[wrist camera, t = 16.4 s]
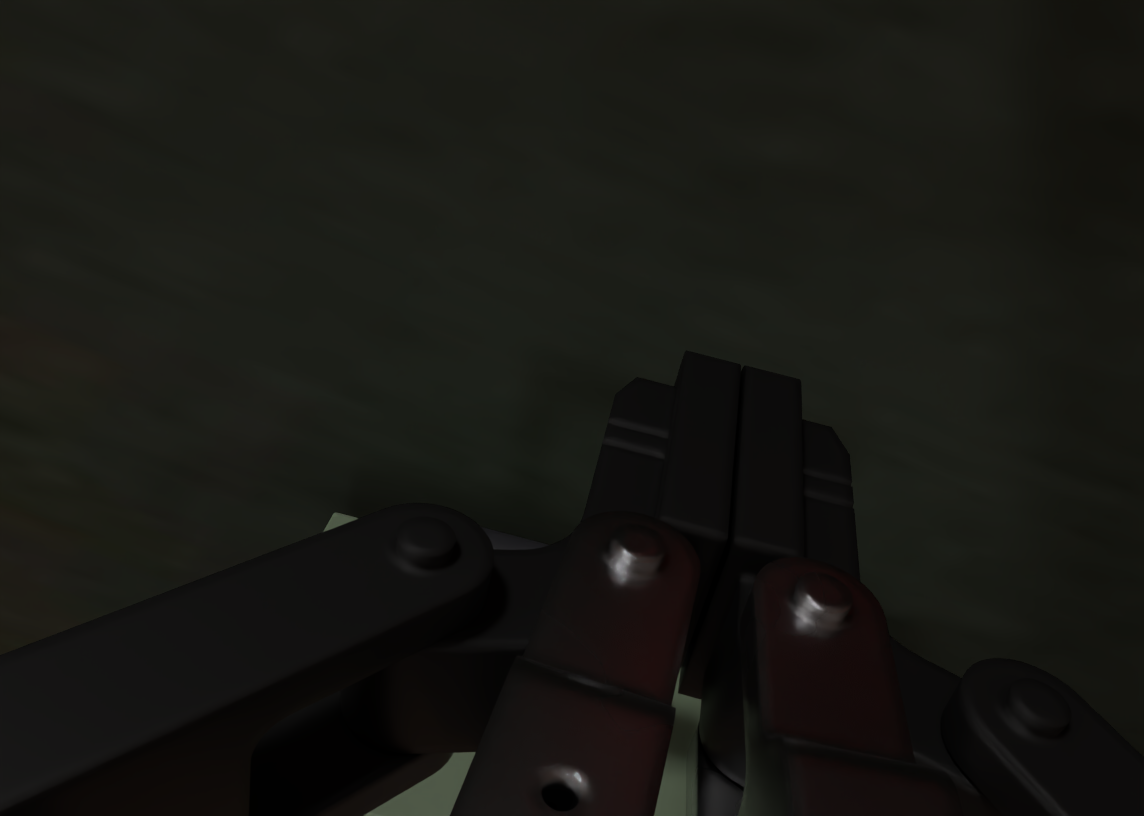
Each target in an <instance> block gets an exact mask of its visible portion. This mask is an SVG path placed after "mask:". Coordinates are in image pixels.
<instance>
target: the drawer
mask: <svg viewBox="0 0 1144 816" xmlns="http://www.w3.org/2000/svg"><path fill="white" fill-rule="evenodd" d="M356 519H359V518H356V517H352V516H348V515H344V514H340V513H334V514H333V515H332V517H331V519H330V521H329V522H328V524H327V526H326V528H325V529H324V531H323V532H325V531H327V530H330V529H332V528H335V527H338V526H340V525H343V524H346V523H348V522H351V521H353V520H356ZM481 528H482V529H483V530H484V531H485V532H486V534H487V535H488V537H489V539H490V540H491V543H492V546H493V549H502V550H527V549H535V548H541V547H545V546H549V545H548V544H544V543H540V542H537V541H533V540H529V539H525V538H521V537H518V536H514V535H510V534H506V533H502V532H499V531H495V530H491V529H487V528H484V527H481ZM680 670H681V669H680ZM679 679H680V671H679V674H678V678H677V682H676V687H675V691H674V696H673V700H672V705H671V706H672V707H675V708H676V714H675V720H674V726H673V731H672V735H671V740H670V745H669V749H668V754H667V759H666V763H665V768H664V772H663V777H662V782H661V786H660V791H659V795H658V800H657V805H656V809H655V814H654V816H686V759H687V751H688V748H689V746H690V743H691V740H692V738H693V735H694V733H695V730H696V728H697V725H698V723H699V720H700V710H701V699H697V698H693V697H690V696H686V695H682V694H678V687H679ZM475 753H476V752H462V753H453V755H452V756H451V758H450V760H449V761H448V762H447V763H446V764H445V765H444V766H443V767H442V768H441V769H440V770H439V771H437V772H436V773H434V774H433V775H431V776H430V777H428V778H426V779H424V780H423V781H421V782H419V783H418V784H416V785H414V786H413V787H411V788H409V789H408V790H406V791H404V792H402V793H401V794H399V795H397V796H396V797H394V798H392V799H391V800H389V801H387V802H386V803H384V804H382V805H380V806H379V807H377V808H375V809H374V810H372V811H370V812H369V813H367V814H365V815H363V816H450V814H451V811H452V809H453V806H454V804H455V801H456V799H457V797H458V794H459V792H460V789H461V787H462V784H463V782H464V779H465V777H466V775H467V772H468V770H469V767H470V765H471V762H472V760H473V757H474V755H475Z"/></svg>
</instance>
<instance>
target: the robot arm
mask: <svg viewBox="0 0 1144 816" xmlns="http://www.w3.org/2000/svg"><path fill="white" fill-rule="evenodd" d="M851 483H852V477H851V465H850V455H849V453H848V451H847V450H846V448H845V447H844V445H843V444H842V442H841V441H840V439H839V438H838V436H837V435H836V433H835V432H834V430H833V429H832V427H829V426H825V425H821V424H817V423H813V422H810V421H806V420H802V395H801V380H800V379H796V378H792V377H788V376H784V375H780V374H777V373H773V372H769V371H765V370H761V369H757V368H753V367H749V366H744V367H743V369H742V371H741V365H740V364H737V363H733V362H729V361H725V360H721V359H717V358H714V357H710V356H706V355H702V354H698V353H694V352H690V351H685V354H684V356H683V359H682V362H681V365H680V369H679V372H678V376H677V379H676V382H675V386H674V387H673V386H669V385H666V384H662V383H658V382H654V381H650V380H646V379H642V378H638V377H637V378H635V379H634V380H633V381H632V382H630V383H629V384H628V385H627V386H625V387H624V388H623V389H622V390H620V391H619V392H618V393H617V394H615V398H614V402H613V406H612V409H611V413H610V417H609V421H608V425H607V428H606V432H605V436H604V440H603V443H602V447H601V451H600V455H599V459H598V462H597V466H596V470H595V474H594V477H593V481H592V485H591V489H590V493H589V496H588V500H587V504H586V508H585V512H584V515H583V518H582V520H581V523H580V524H579V525H578V526H577V527H576V528H575V529H574V531H573V532H572V533H571V534H570V535H569V536H568V537H566V538H564V539H563V540H561V541H559V542H557V543H554V544H552V545H549V546H545V547H541V548H535V549H527V550H502V549H493V546H492V543H491V540H490V539H489V537H488V535H487V534H486V532H485V531H484V530H483V529H482V528H481V527H480V526H479V525H478V524H477V523H476V522H475V521H473V520H472V519H471V518H469V517H467V516H466V515H464V514H462V513H460V512H458V511H455V510H453V509H450V508H447V507H443V506H439V505H434V504H426V503H406V504H400V505H395V506H391V507H388V508H385V509H382V510H380V511H377V512H374V513H372V514H369V515H367V516H364V517H361V518H359V519H356V520H353V521H351V522H348V523H346V524H343V525H340V526H338V527H335V528H332V529H330V530H327V531H325V532H322V533H319V534H317V535H314V536H312V537H309V538H306V539H304V540H301V541H298V542H296V543H293V544H291V545H288V546H285V547H283V548H280V549H277V550H275V551H272V552H270V553H267V554H264V555H262V556H259V557H257V558H254V559H251V560H249V561H246V562H243V563H241V564H238V565H236V566H233V567H230V568H228V569H225V570H222V571H220V572H217V573H215V574H212V575H209V576H207V577H204V578H201V579H199V580H196V581H194V582H191V583H188V584H186V585H183V586H181V587H178V588H175V589H173V590H170V591H167V592H165V593H162V594H160V595H157V596H154V597H152V598H149V599H146V600H144V601H141V602H139V603H136V604H133V605H131V606H128V607H126V608H123V609H120V610H118V611H115V612H112V613H110V614H107V615H105V616H102V617H99V618H97V619H94V620H91V621H89V622H86V623H84V624H81V625H78V626H76V627H73V628H71V629H68V630H65V631H63V632H60V633H57V634H55V635H52V636H50V637H47V638H44V639H42V640H39V641H36V642H34V643H31V644H29V645H26V646H23V647H21V648H18V649H15V650H13V651H10V652H8V653H5V654H2V655H0V816H363V815H365V814H367V813H369V812H370V811H372V810H374V809H375V808H377V807H379V806H380V805H382V804H384V803H386V802H387V801H389V800H391V799H392V798H394V797H396V796H397V795H399V794H401V793H402V792H404V791H406V790H408V789H409V788H411V787H413V786H414V785H416V784H418V783H419V782H421V781H423V780H424V779H426V778H428V777H430V776H431V775H433V774H434V773H436V772H437V771H439V770H440V769H441V768H442V767H443V766H444V765H445V764H446V763H447V762H448V761H449V760H450V758H451V756H452V755H453V753H462V752H476V753H475V755H474V757H473V760H472V762H471V765H470V767H469V770H468V772H467V775H466V777H465V779H464V782H463V784H462V787H461V789H460V792H459V794H458V797H457V799H456V801H455V804H454V806H453V809H452V811H451V814H450V816H654V814H655V809H656V805H657V800H658V795H659V791H660V786H661V782H662V777H663V772H664V768H665V763H666V759H667V754H668V749H669V745H670V740H671V735H672V731H673V726H674V720H675V714H676V708H675V707H672V706H671V705H672V700H673V696H674V691H675V687H676V682H677V678H678V674H679V671H680V679H679V687H678V694H682V695H686V696H690V697H693V698H697V699H701V710H700V720H699V723H698V725H697V728H696V730H695V733H694V735H693V738H692V740H691V743H690V746H689V748H688V751H687V759H686V816H1144V757H1143V756H1142V755H1141V754H1140V753H1139V752H1137V751H1136V750H1135V749H1134V748H1133V747H1132V746H1131V745H1130V744H1129V743H1128V742H1127V741H1126V740H1125V739H1124V738H1123V737H1122V736H1121V735H1120V734H1119V733H1118V732H1117V731H1116V730H1115V729H1114V728H1113V727H1111V726H1110V725H1109V724H1108V723H1107V722H1106V721H1105V720H1104V719H1103V718H1102V717H1101V716H1100V715H1099V714H1098V713H1097V712H1096V711H1095V710H1094V709H1093V708H1092V707H1091V706H1090V705H1089V704H1088V703H1087V702H1085V701H1084V700H1083V699H1082V698H1081V697H1080V696H1079V695H1078V694H1077V693H1076V692H1075V691H1074V690H1072V689H1071V688H1070V687H1069V686H1068V685H1066V684H1065V683H1063V682H1062V681H1061V680H1059V679H1058V678H1056V677H1054V676H1053V675H1051V674H1049V673H1048V672H1046V671H1044V670H1041V669H1039V668H1037V667H1035V666H1032V665H1030V664H1027V663H1024V662H1020V661H1016V660H1012V659H1003V658H993V659H986V660H982V661H979V662H977V663H975V664H973V665H972V666H971V667H970V668H969V669H967V671H966V673H965V674H964V676H963V678H960V677H958V676H956V675H955V674H953V673H951V672H949V671H947V670H945V669H943V668H941V667H939V666H937V665H935V664H933V663H931V662H929V661H927V660H925V659H924V658H922V657H920V656H918V655H916V654H915V653H913V652H911V651H909V650H908V649H906V648H905V647H903V646H902V645H901V644H899V643H898V642H897V641H895V640H894V639H893V638H892V637H891V636H889V632H888V628H887V623H886V618H885V615H884V612H883V609H882V607H881V605H880V603H879V602H878V600H877V599H876V597H875V596H874V595H873V593H872V592H871V591H870V590H869V589H868V588H867V587H866V586H865V585H864V584H862V583H861V582H860V573H859V561H858V549H857V537H856V525H855V513H854V509H853V504H854V501H853V489H852V487H851ZM680 669H681V670H680Z"/></svg>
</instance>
